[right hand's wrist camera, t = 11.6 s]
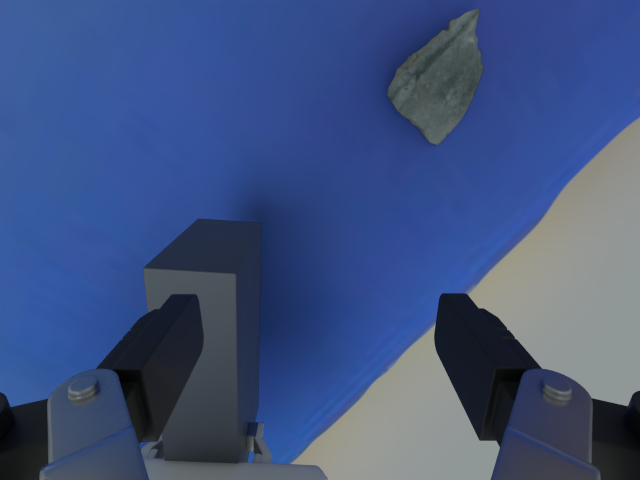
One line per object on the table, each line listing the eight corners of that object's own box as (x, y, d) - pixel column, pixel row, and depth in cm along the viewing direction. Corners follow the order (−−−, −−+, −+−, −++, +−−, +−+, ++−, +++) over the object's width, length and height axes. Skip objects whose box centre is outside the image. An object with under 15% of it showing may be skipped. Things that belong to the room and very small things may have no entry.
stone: (504, 66, 36) (453, -15, 31) (529, 73, 33) (476, -16, 28) (425, 143, 40) (368, 81, 35) (440, 156, 36) (380, 91, 31)
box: (198, 218, 31) (142, 268, 21) (261, 222, 32) (236, 273, 22) (207, 403, 39) (169, 504, 29) (258, 405, 39) (238, 507, 29)
